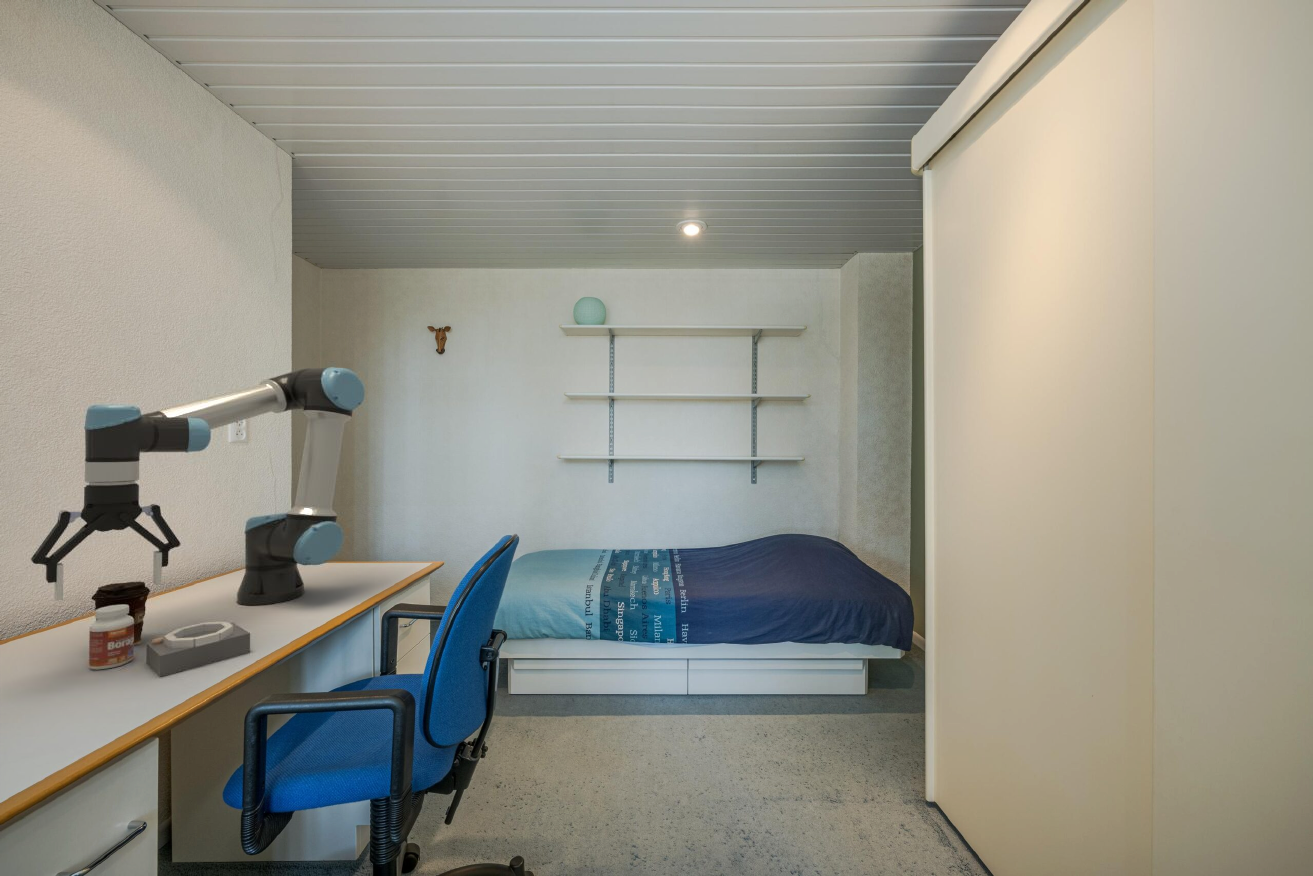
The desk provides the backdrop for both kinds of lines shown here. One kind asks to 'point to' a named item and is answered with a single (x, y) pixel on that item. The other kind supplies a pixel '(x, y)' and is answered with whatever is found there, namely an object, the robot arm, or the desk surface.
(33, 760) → the desk surface
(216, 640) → the grey block with ring
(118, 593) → the takeaway cup with lid
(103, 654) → the pill bottle
